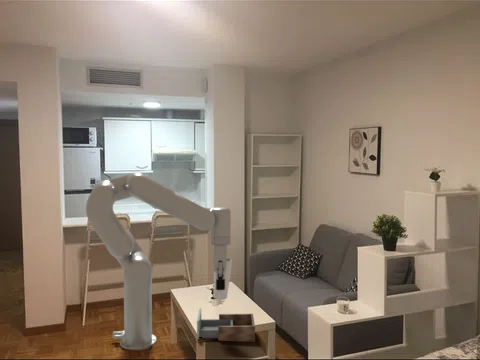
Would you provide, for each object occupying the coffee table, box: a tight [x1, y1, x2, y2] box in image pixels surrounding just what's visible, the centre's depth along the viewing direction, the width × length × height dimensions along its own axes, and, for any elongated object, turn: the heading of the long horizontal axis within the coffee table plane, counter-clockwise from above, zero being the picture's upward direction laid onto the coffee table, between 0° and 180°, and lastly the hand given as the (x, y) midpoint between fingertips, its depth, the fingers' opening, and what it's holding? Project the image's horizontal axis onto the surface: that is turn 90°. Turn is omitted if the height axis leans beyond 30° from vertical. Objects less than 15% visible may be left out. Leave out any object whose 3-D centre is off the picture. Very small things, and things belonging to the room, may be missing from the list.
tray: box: [196, 307, 233, 339], centre depth 153 cm, size 13×12×7 cm
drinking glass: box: [212, 257, 233, 301], centre depth 153 cm, size 7×7×15 cm
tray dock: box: [217, 313, 256, 343], centre depth 154 cm, size 14×12×6 cm
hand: (220, 286), depth 153 cm, fingers closed on drinking glass, 6 cm apart
